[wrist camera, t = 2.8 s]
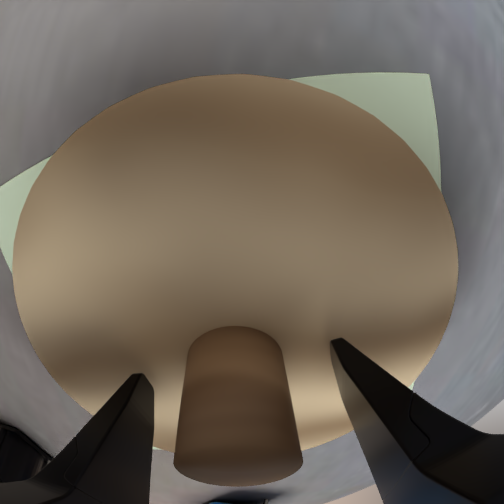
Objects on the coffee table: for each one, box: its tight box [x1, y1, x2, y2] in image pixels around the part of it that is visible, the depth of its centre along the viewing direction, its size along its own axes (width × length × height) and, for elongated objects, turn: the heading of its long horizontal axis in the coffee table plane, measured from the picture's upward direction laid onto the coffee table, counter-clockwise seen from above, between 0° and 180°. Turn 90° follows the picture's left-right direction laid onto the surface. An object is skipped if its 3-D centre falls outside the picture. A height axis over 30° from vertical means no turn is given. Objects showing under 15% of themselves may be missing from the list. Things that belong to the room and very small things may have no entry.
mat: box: [0, 72, 441, 449], centre depth 10 cm, size 16×16×1 cm
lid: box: [12, 74, 458, 487], centre depth 8 cm, size 17×17×5 cm
